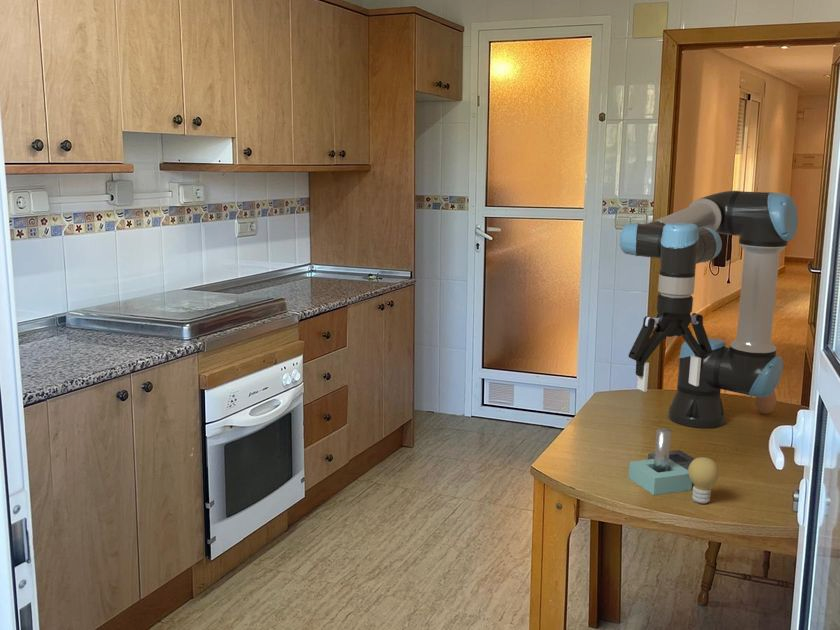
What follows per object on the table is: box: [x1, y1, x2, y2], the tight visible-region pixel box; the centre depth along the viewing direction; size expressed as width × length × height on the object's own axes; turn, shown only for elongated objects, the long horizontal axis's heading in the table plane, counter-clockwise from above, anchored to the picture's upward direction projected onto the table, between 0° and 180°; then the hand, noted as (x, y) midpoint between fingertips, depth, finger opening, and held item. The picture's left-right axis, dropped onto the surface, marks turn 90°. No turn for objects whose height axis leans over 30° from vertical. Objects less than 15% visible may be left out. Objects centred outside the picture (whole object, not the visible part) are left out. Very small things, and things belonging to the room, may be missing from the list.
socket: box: [628, 459, 693, 496], centre depth 192 cm, size 10×10×4 cm
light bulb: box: [688, 456, 720, 504], centre depth 182 cm, size 6×6×10 cm
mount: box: [647, 449, 695, 470], centre depth 201 cm, size 9×9×2 cm
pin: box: [653, 427, 672, 473], centre depth 191 cm, size 3×3×13 cm
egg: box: [754, 390, 777, 415], centre depth 243 cm, size 6×6×8 cm
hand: (668, 387), depth 188 cm, fingers open, 13 cm apart
